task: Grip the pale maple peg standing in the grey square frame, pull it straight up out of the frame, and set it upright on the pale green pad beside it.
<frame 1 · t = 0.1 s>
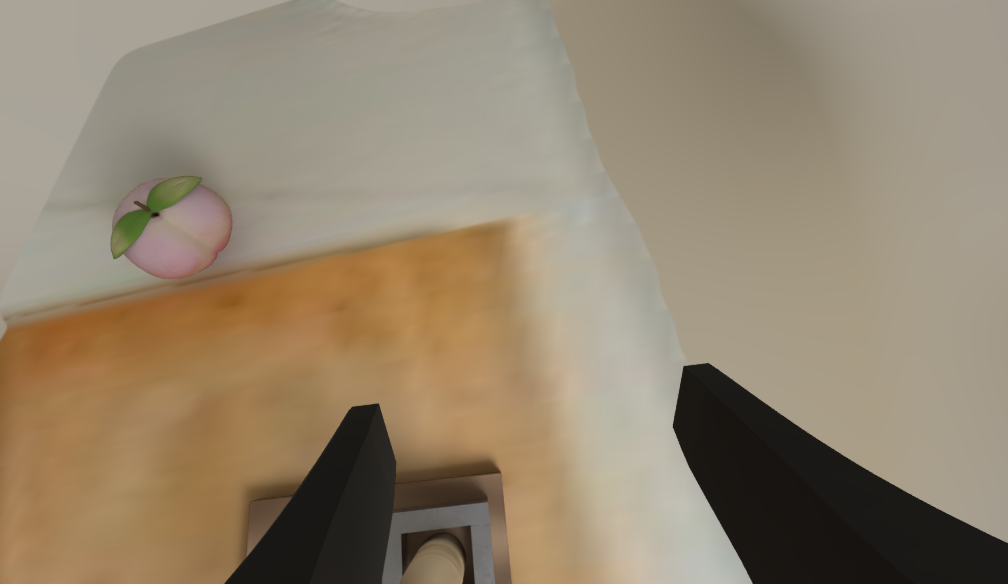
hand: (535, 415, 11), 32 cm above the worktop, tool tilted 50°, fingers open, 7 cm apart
decorative fruit: (208, 249, 46), on the worktop
grey square frame: (439, 564, 35), on the walnut board, point 3 cm above the worktop
walnut board: (383, 576, 37), on the worktop
maple peg: (435, 574, 33), in the grey square frame, point 6 cm above the worktop, touching walnut board
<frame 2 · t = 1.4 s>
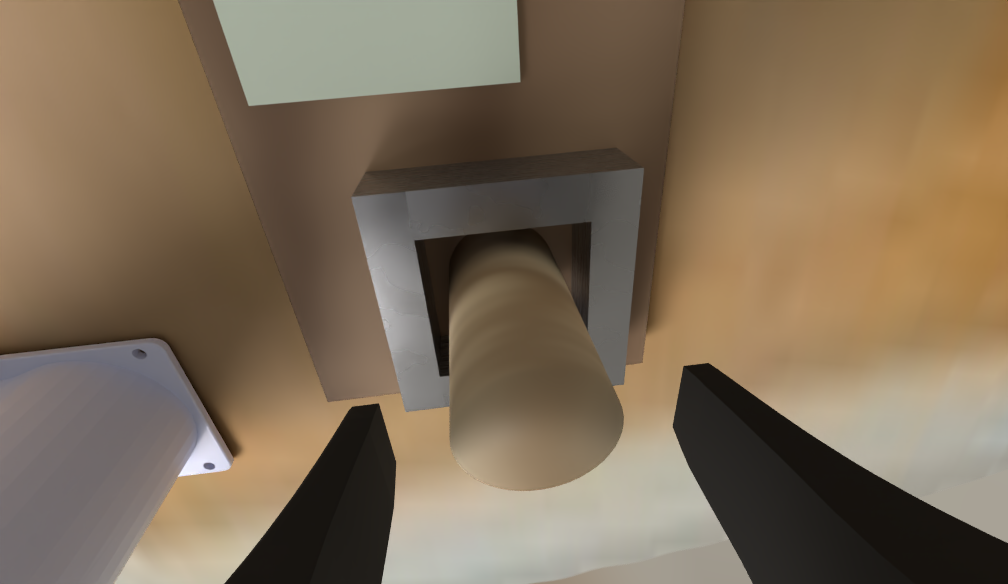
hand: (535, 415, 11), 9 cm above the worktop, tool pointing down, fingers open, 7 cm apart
grey square frame: (505, 287, 16), on the walnut board, point 3 cm above the worktop
walnut board: (459, 128, 16), on the worktop
maple peg: (515, 332, 14), in the grey square frame, point 6 cm above the worktop, touching walnut board
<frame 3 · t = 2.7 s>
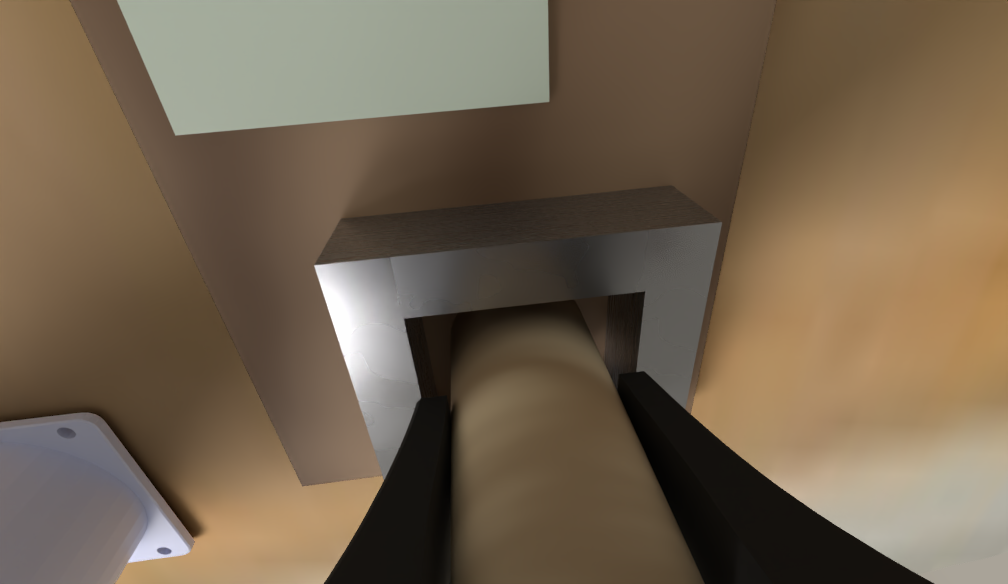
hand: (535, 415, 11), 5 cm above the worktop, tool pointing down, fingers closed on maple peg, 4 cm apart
grey square frame: (523, 362, 12), on the walnut board, point 3 cm above the worktop
walnut board: (464, 158, 12), on the worktop
maple peg: (540, 441, 10), in the grey square frame, point 6 cm above the worktop, touching gripper, walnut board
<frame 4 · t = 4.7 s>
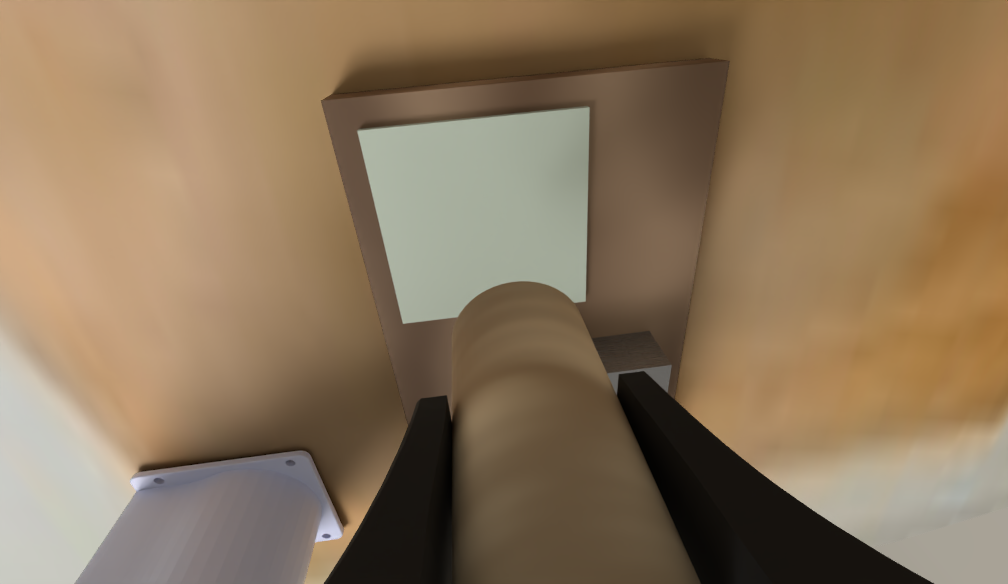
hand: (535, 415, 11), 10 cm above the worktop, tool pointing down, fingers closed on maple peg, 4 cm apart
grey square frame: (568, 424, 22), on the walnut board, point 2 cm above the worktop
walnut board: (535, 312, 22), on the worktop
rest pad: (485, 224, 18), resting on walnut board
maple peg: (541, 445, 10), point 11 cm above the worktop, touching gripper
when the fingers open (6 cm above the worktop, at t = 6.6 s): maple peg drops 1 cm, resting on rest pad.
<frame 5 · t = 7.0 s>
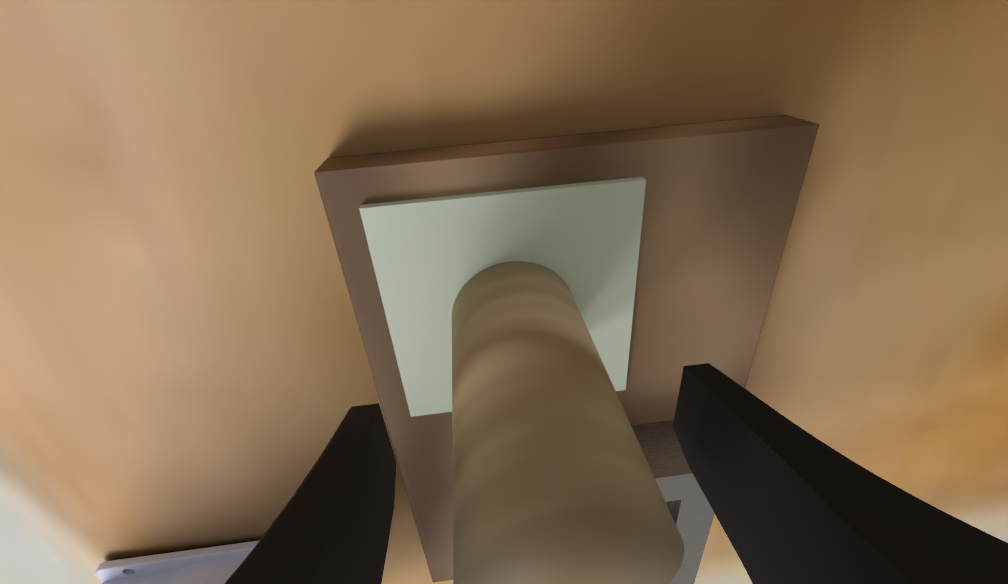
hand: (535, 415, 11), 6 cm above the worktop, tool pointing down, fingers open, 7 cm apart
grey square frame: (599, 520, 19), on the walnut board, point 2 cm above the worktop
walnut board: (562, 392, 19), on the worktop
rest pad: (512, 308, 15), resting on walnut board
maple peg: (533, 406, 11), point 6 cm above the worktop, touching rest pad
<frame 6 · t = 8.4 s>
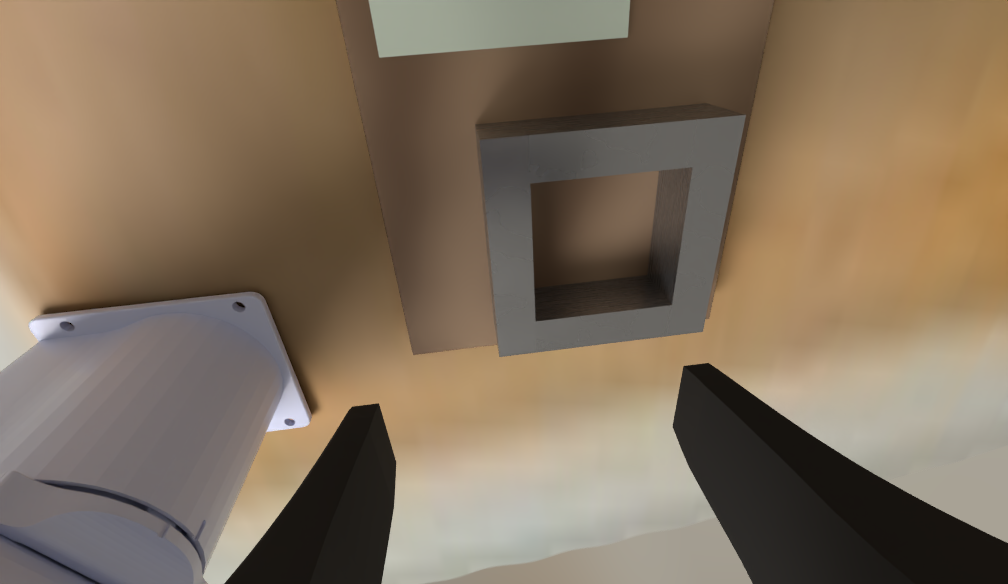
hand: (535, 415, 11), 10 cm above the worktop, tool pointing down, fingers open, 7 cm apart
grey square frame: (597, 236, 17), on the walnut board, point 3 cm above the worktop
walnut board: (555, 86, 17), on the worktop
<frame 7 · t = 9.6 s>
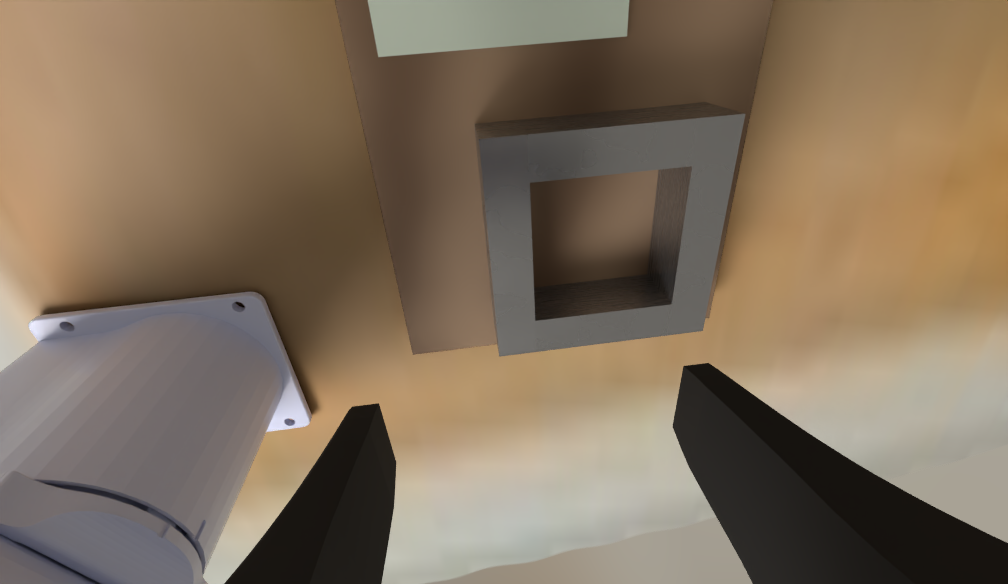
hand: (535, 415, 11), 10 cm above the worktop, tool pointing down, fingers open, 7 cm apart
grey square frame: (597, 235, 17), on the walnut board, point 3 cm above the worktop
walnut board: (555, 85, 17), on the worktop
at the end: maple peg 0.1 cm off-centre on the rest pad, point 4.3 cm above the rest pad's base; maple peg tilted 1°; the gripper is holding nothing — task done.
